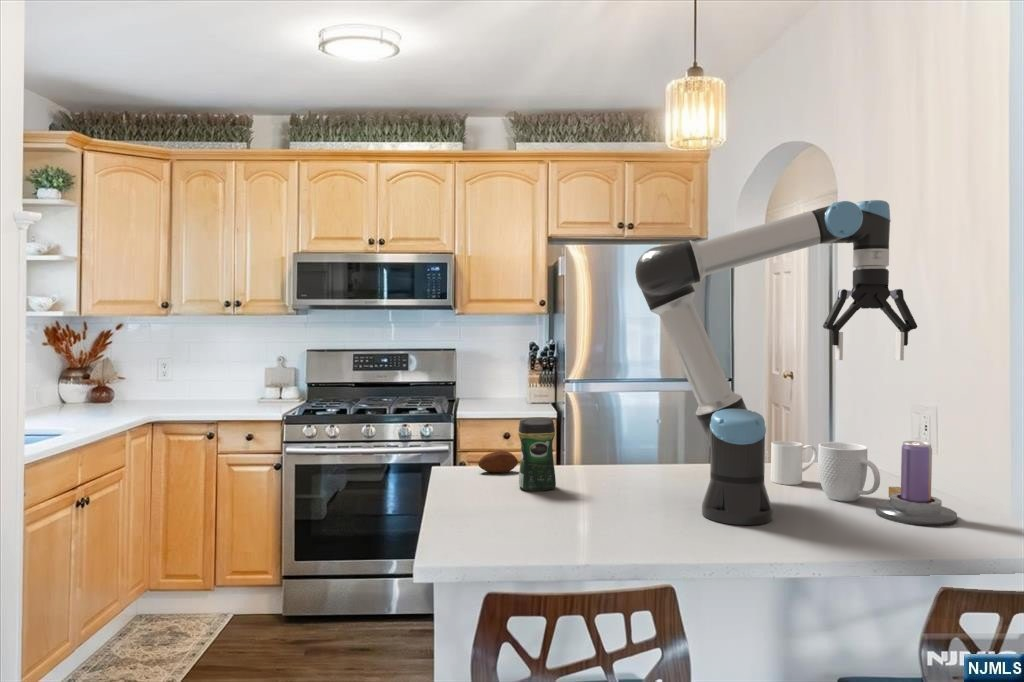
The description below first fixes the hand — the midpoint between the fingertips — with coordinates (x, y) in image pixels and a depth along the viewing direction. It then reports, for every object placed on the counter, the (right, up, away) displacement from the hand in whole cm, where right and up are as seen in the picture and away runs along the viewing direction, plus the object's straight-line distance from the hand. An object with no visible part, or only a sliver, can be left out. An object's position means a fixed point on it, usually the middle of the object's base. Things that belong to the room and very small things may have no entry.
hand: (868, 360), depth 170 cm
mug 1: (-7, -34, +27) cm, 44 cm away
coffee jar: (-77, -34, +21) cm, 87 cm away
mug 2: (-1, -35, +9) cm, 36 cm away
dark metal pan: (+8, -35, -5) cm, 36 cm away
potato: (-87, -34, +39) cm, 101 cm away
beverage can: (+7, -34, -6) cm, 35 cm away
